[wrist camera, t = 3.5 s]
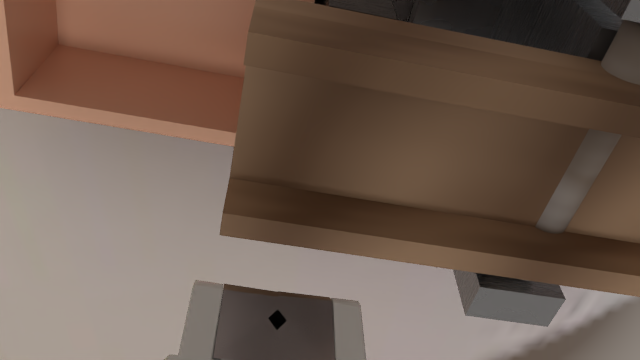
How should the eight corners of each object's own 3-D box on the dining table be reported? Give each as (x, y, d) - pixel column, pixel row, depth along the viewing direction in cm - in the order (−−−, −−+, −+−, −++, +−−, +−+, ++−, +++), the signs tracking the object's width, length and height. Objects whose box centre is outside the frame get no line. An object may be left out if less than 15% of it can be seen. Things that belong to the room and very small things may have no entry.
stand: (669, -103, 21) (882, -14, 13) (525, 178, 29) (607, 344, 21) (350, -181, 20) (374, -133, 12) (285, 138, 27) (273, 299, 19)
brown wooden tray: (959, 84, 17) (1059, 136, 15) (766, 290, 22) (818, 352, 19) (265, -64, 14) (256, -28, 12) (226, 207, 19) (214, 268, 17)
